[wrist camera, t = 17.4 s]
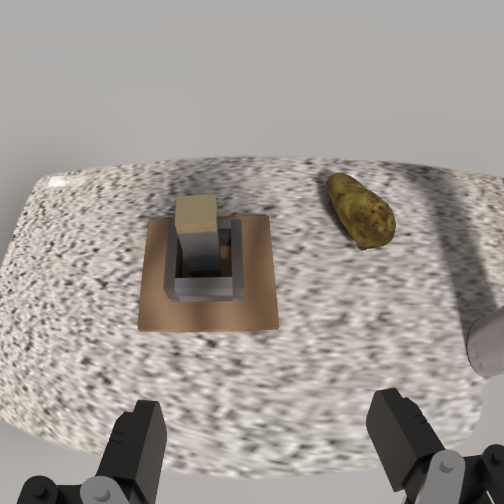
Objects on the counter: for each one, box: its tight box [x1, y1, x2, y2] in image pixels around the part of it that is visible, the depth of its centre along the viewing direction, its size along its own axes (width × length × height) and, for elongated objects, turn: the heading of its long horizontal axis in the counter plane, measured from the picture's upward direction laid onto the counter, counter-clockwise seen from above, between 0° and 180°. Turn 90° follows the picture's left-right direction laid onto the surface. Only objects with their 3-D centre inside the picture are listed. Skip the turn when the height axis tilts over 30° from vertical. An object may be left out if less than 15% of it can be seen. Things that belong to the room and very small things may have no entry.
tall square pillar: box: [175, 194, 222, 278], centre depth 31 cm, size 4×3×12 cm
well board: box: [138, 216, 279, 332], centre depth 35 cm, size 16×15×5 cm
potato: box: [326, 173, 396, 251], centre depth 39 cm, size 8×13×8 cm, turn 175°
